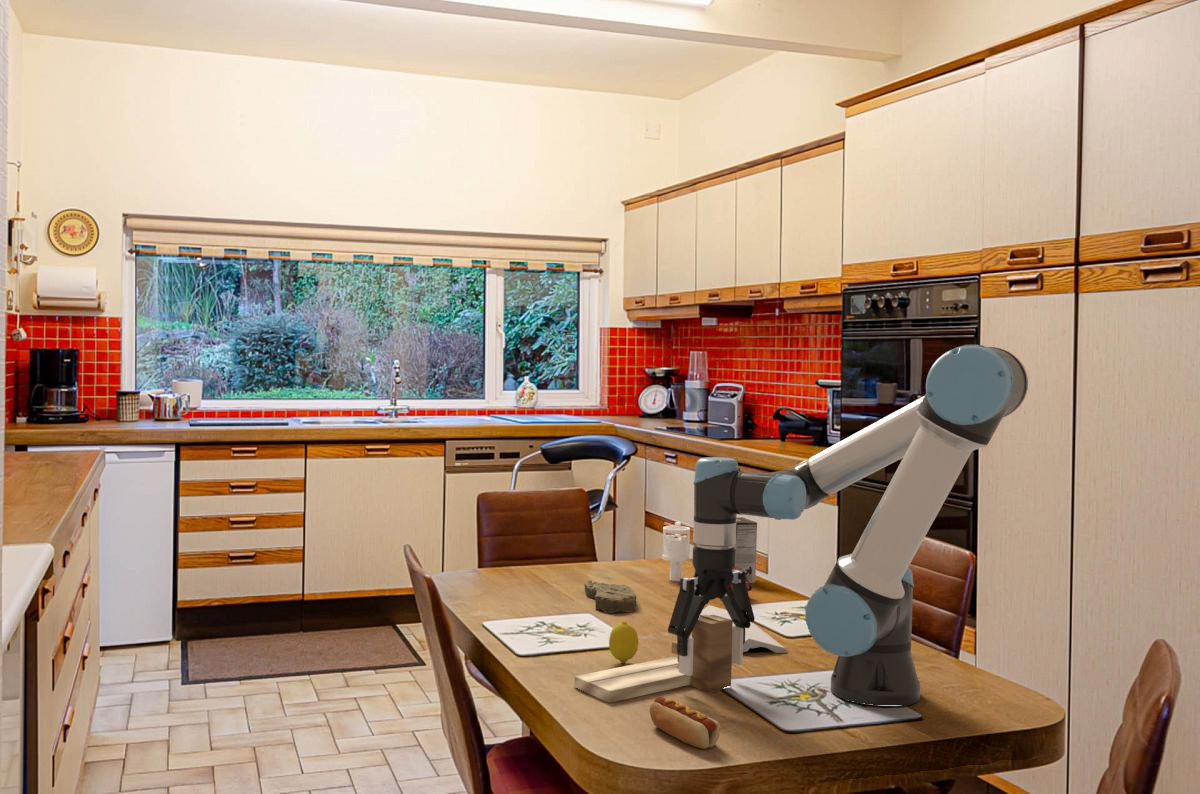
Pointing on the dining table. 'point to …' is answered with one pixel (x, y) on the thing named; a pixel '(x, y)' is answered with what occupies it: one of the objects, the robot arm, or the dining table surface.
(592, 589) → the stone slab
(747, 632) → the crown molding
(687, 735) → the food
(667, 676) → the board
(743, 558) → the coffee box
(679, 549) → the white stepped cylinder
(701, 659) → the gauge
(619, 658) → the lemon
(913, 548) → the robot arm
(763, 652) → the dining table surface
